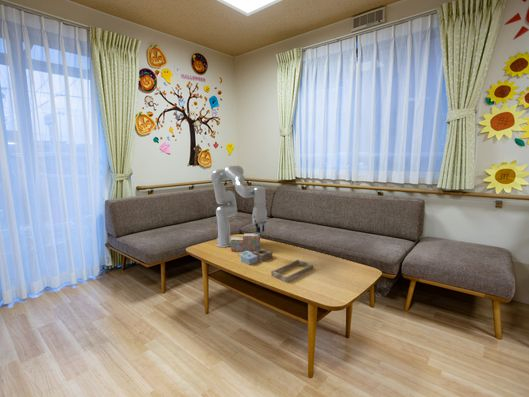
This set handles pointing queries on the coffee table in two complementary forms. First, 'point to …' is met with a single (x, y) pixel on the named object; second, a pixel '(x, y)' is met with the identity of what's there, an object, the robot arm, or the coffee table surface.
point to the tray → (243, 253)
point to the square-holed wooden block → (263, 254)
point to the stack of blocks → (246, 243)
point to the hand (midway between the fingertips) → (260, 231)
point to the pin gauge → (260, 230)
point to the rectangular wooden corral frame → (288, 266)
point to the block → (249, 258)
